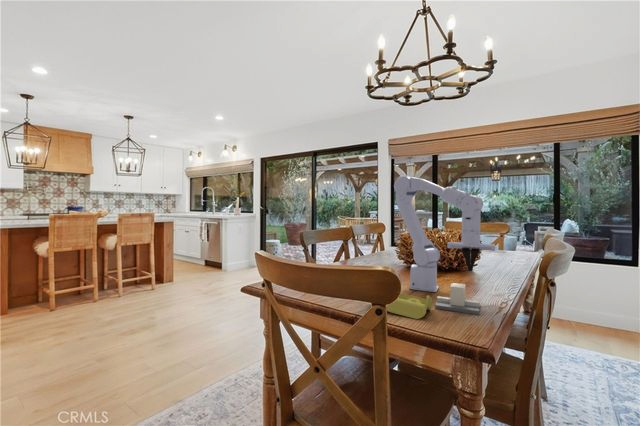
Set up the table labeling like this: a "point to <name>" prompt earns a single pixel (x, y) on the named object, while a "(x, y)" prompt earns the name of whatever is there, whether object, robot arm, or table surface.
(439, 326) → the table surface
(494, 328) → the table surface
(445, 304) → the rail board
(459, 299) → the block
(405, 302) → the plastic component
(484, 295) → the table surface
